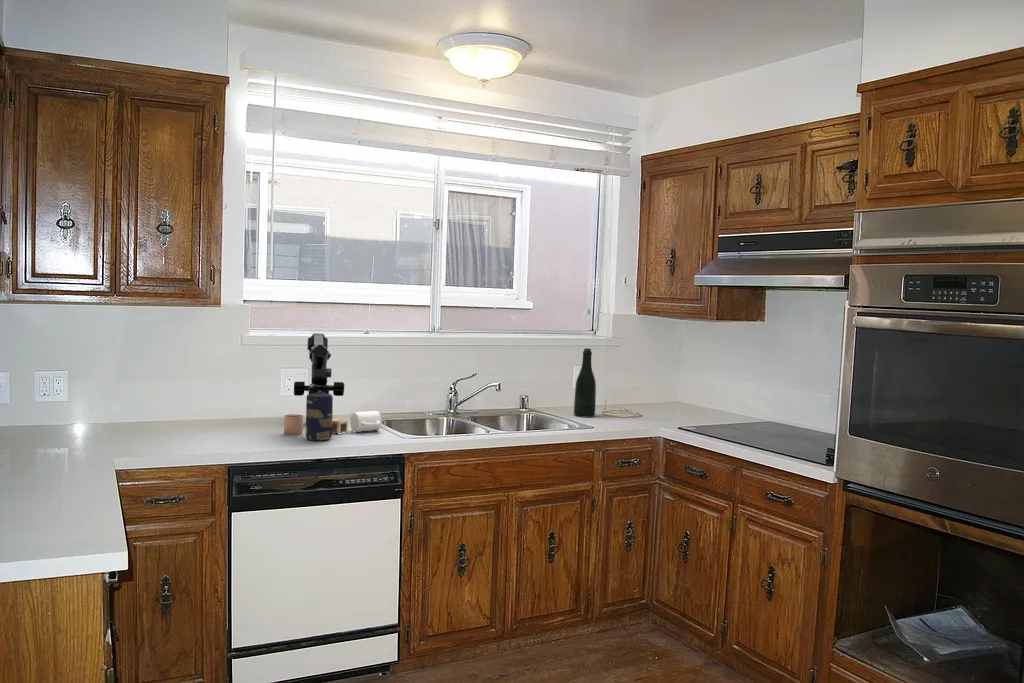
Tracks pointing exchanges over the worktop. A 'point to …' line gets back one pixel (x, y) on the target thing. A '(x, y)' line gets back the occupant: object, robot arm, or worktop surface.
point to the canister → (319, 416)
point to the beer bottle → (585, 388)
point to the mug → (365, 421)
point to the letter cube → (339, 426)
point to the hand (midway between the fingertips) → (319, 406)
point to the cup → (293, 424)
